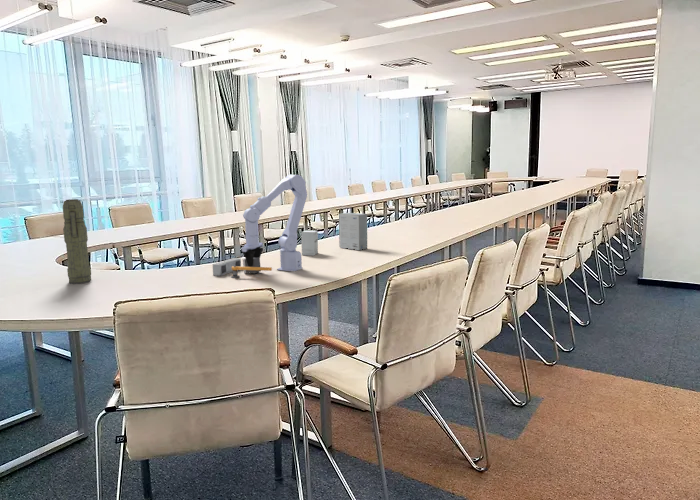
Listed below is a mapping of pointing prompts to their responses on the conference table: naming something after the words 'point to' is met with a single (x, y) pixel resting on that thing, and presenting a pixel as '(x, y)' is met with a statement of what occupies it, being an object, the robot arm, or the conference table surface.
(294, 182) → the robot arm
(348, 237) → the hard drive box
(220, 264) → the socket
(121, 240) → the conference table surface
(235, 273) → the lever handle base
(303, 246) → the supplement box
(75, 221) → the carved stone statue
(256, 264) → the plug
